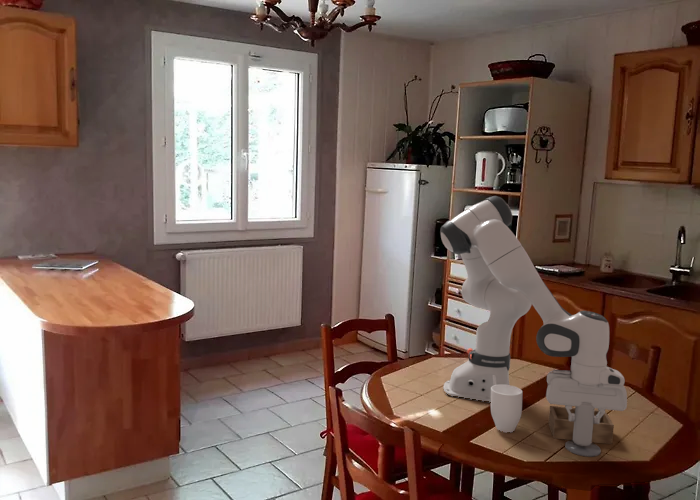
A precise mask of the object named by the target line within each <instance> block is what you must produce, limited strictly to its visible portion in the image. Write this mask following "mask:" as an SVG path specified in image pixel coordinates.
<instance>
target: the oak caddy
mask: <svg viewBox="0 0 700 500" xmlns="http://www.w3.org/2000/svg"><path fill="white" fill-rule="evenodd" d="M569 410H570V412H571V413H573V414H575V407H572V409H569ZM548 412H549V413H548V426H549V430H550V432H551V435H552V438H553V439H559V440H568V441H570V440H573V429H574V422H572V421H569V420H568V416H569V414H568V412H567V410H566V407H565V406H559V405H556V406H555V405H549V410H548ZM598 412H599V410H598V409H594V416H596V415H597V414H598ZM614 426H615V425H614V423H613V421H612V420H611V418H610V417H609V415H608V413H607V411H605V414H604V415H603V416H602V417H601V418H600V423H599V424H593V431H592V442H591V443H597V444H608V445H613V440H614Z"/></svg>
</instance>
